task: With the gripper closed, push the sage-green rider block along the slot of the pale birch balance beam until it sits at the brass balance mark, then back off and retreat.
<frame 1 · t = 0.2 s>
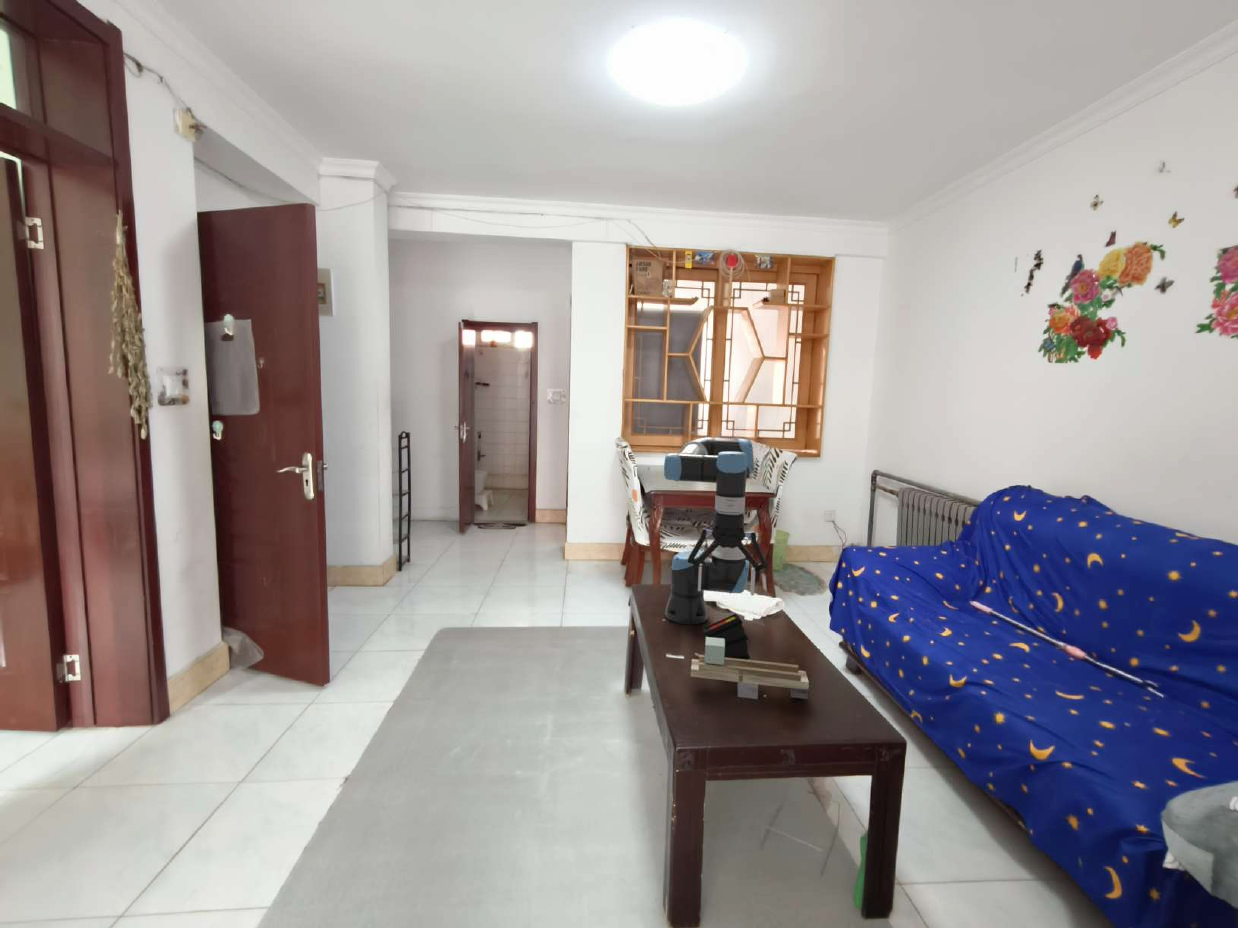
hand: (725, 591, 142), 27 cm above the table, fingers open, 13 cm apart
rider: (714, 654, 145), point 10 cm above the table, slide at -9.0 cm
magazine: (725, 664, 160), on the table
beam: (747, 691, 145), on the table
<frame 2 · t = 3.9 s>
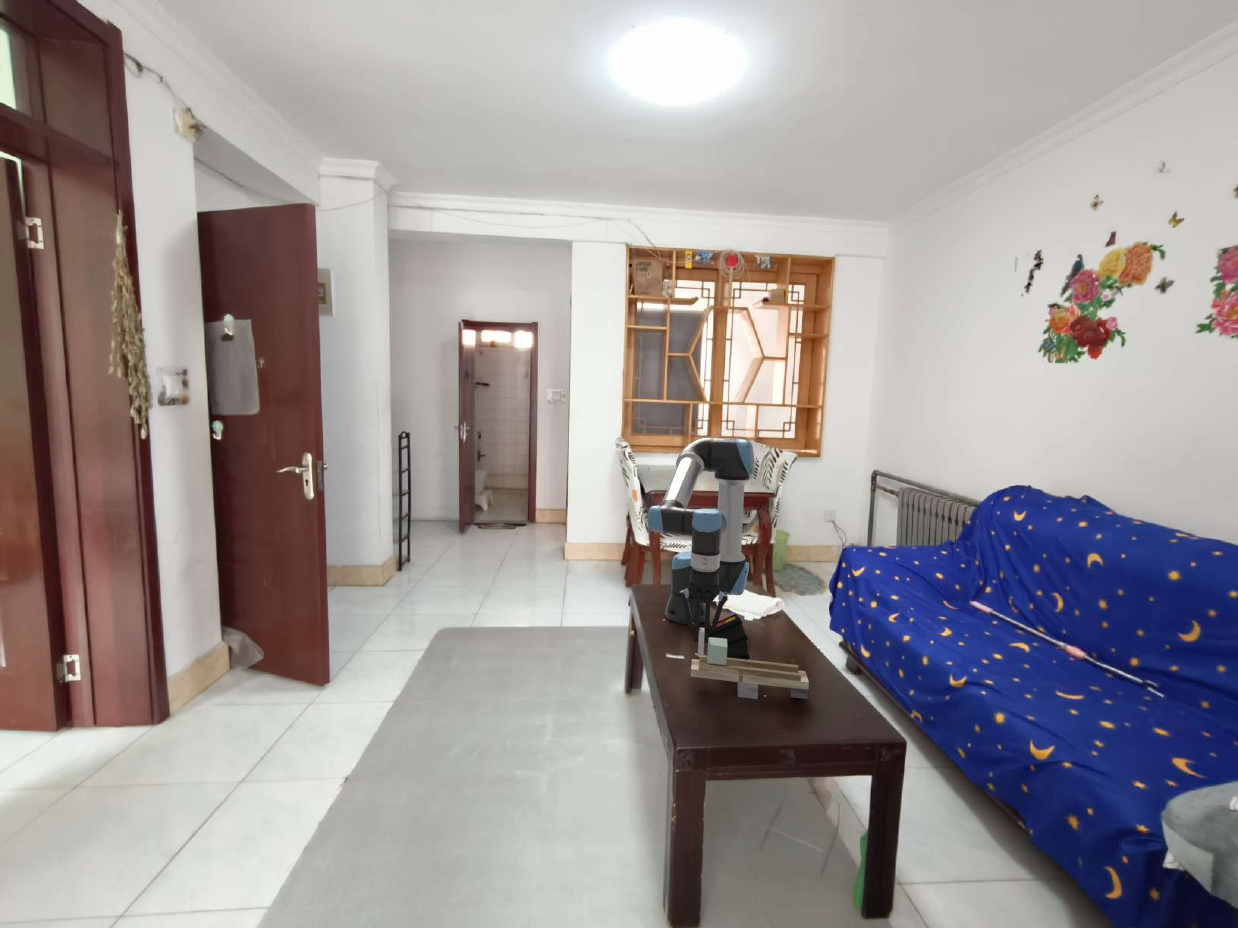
hand: (700, 652, 146), 9 cm above the table, fingers closed
rider: (716, 654, 145), point 10 cm above the table, slide at -8.3 cm, touching gripper
everything else where it was.
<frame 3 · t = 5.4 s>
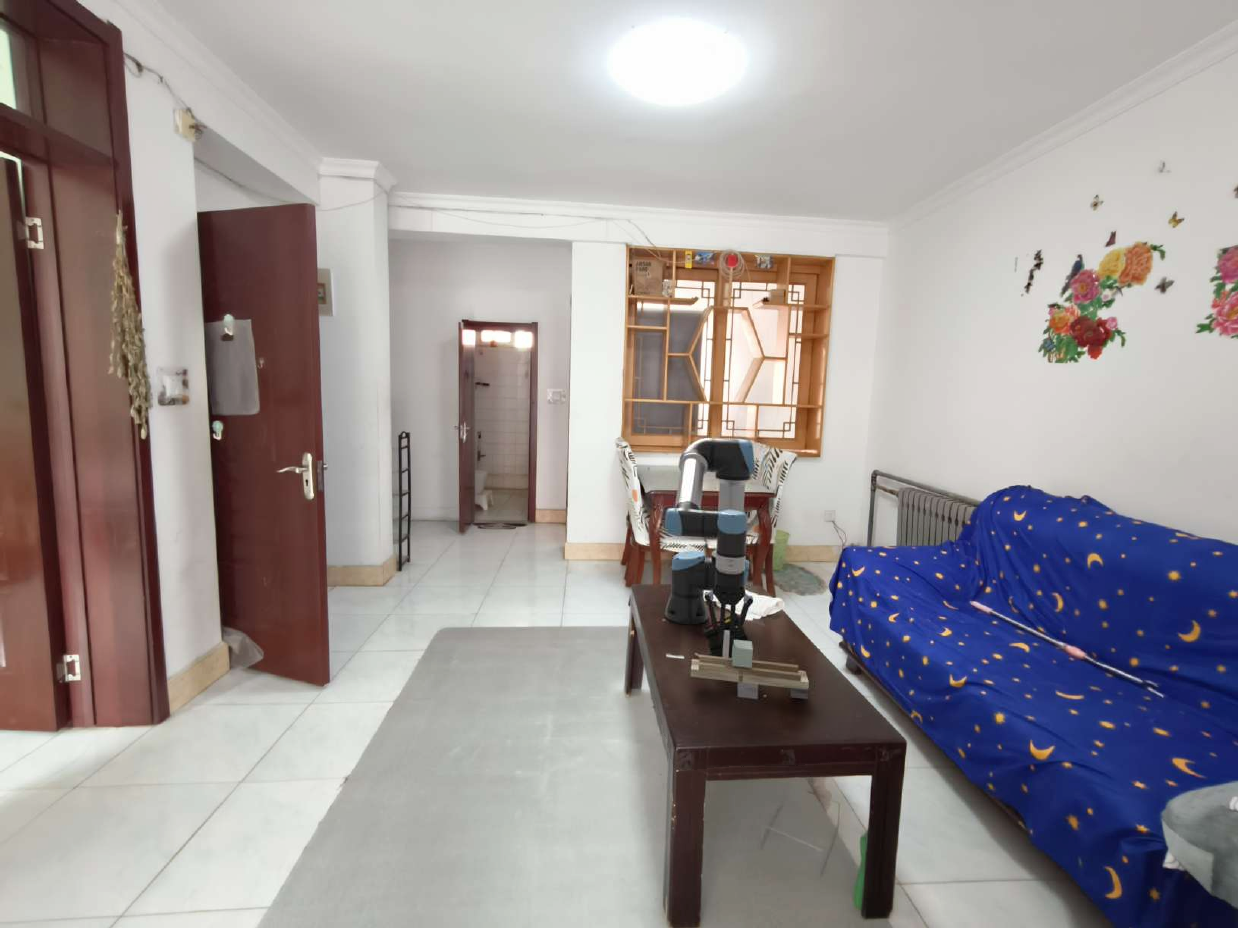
hand: (725, 655, 145), 9 cm above the table, fingers closed
rider: (741, 656, 144), point 10 cm above the table, slide at -1.8 cm, touching gripper
everything else where it was.
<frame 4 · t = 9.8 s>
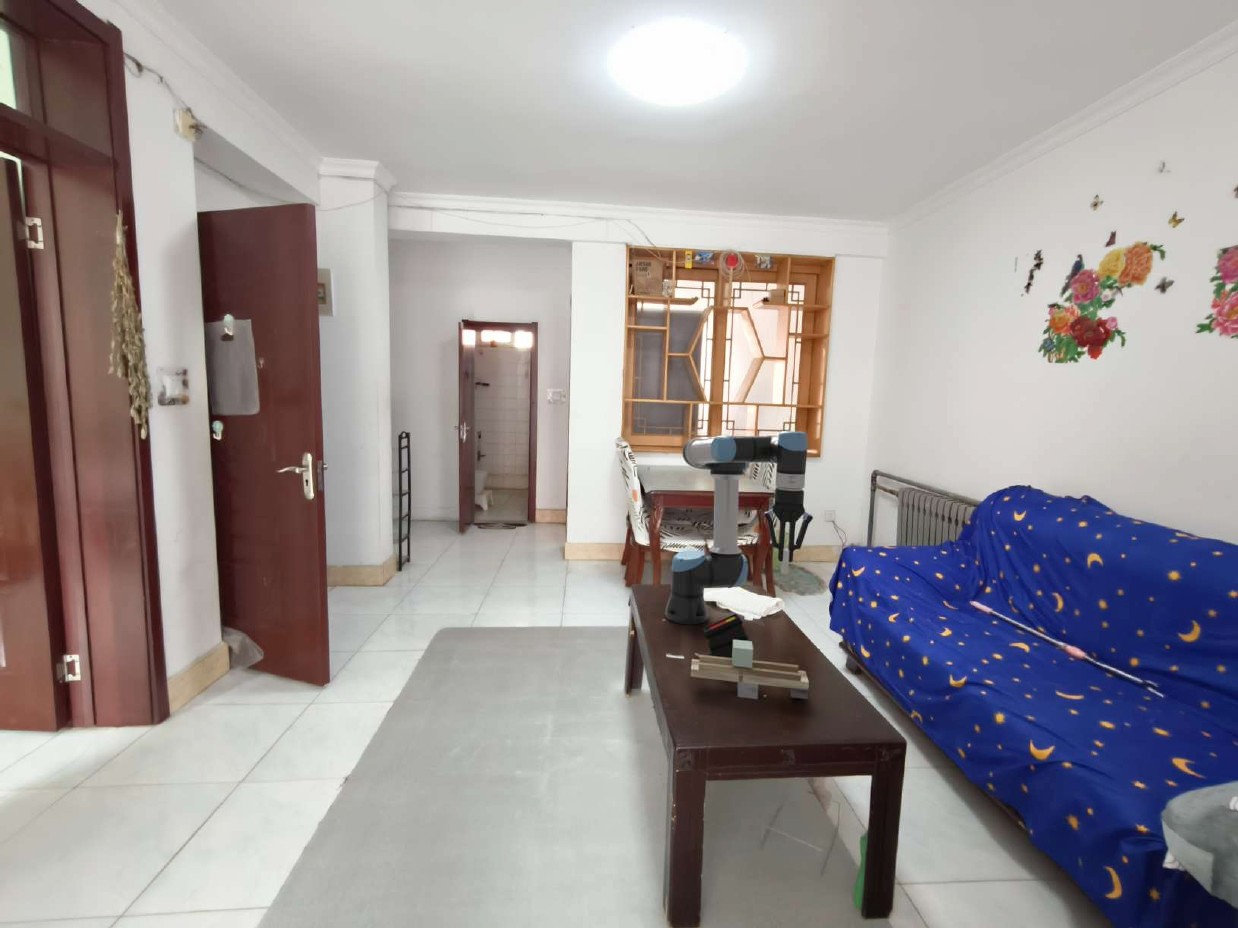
hand: (784, 572, 150), 30 cm above the table, fingers closed
rider: (742, 656, 144), point 10 cm above the table, slide at -1.7 cm
everything else where it was.
at the end: rider slide at -1.7 cm; the gripper is holding nothing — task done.
